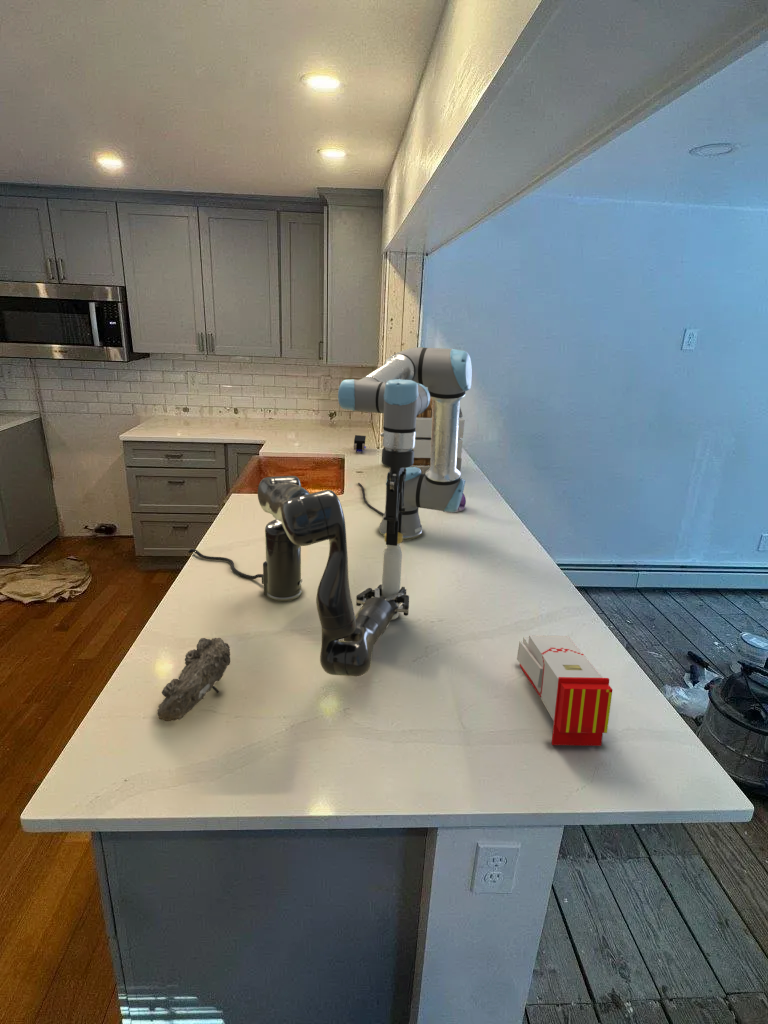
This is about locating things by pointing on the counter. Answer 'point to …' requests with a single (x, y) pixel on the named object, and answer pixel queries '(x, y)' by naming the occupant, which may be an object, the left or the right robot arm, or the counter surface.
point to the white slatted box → (424, 438)
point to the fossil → (195, 678)
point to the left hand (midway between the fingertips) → (393, 588)
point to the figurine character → (359, 443)
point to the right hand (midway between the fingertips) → (393, 540)
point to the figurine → (462, 503)
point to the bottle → (391, 572)
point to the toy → (567, 688)
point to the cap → (400, 538)
